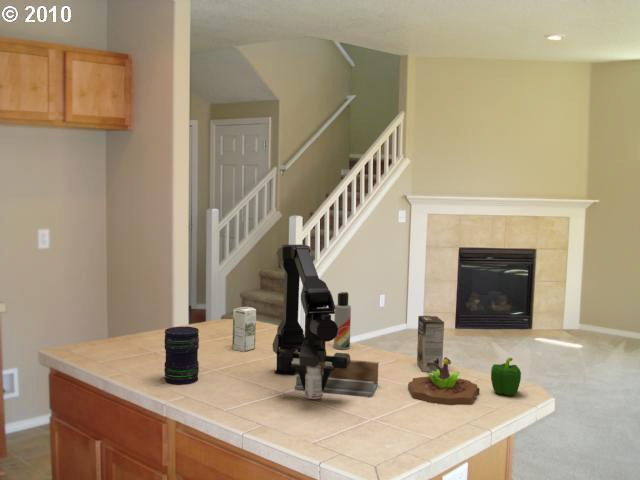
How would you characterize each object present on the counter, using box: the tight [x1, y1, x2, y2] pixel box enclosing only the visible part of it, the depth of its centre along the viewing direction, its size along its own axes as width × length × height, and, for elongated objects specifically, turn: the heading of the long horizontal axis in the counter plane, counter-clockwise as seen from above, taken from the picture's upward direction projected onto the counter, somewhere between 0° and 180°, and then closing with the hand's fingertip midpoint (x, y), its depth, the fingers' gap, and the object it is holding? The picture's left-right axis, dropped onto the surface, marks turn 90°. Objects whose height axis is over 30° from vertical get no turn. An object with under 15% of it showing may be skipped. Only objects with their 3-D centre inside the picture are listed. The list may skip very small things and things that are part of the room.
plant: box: [407, 356, 481, 406], centre depth 193 cm, size 20×20×11 cm
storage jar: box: [163, 326, 200, 386], centre depth 200 cm, size 10×10×15 cm
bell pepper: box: [490, 357, 522, 397], centre depth 194 cm, size 8×8×10 cm
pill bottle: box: [304, 365, 324, 400], centre depth 186 cm, size 5×5×8 cm
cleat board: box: [294, 359, 379, 398], centre depth 196 cm, size 22×11×7 cm, turn 77°
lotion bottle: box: [333, 291, 352, 350], centre depth 243 cm, size 6×6×20 cm
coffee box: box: [416, 315, 445, 373], centre depth 219 cm, size 9×6×16 cm
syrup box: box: [232, 306, 257, 353], centre depth 237 cm, size 6×6×14 cm
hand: (313, 389), depth 186 cm, fingers closed on pill bottle, 5 cm apart
